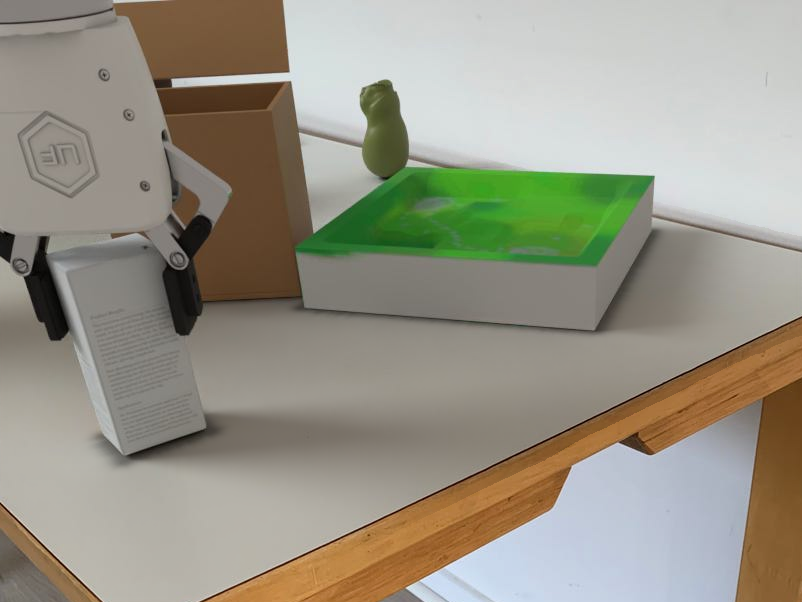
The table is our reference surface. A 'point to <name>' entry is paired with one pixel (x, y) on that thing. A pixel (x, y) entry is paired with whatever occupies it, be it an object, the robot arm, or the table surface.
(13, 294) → the table surface
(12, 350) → the table surface
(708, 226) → the table surface
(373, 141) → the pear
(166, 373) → the cosmetic box
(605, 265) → the green flat square box
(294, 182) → the carton
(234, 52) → the flap
